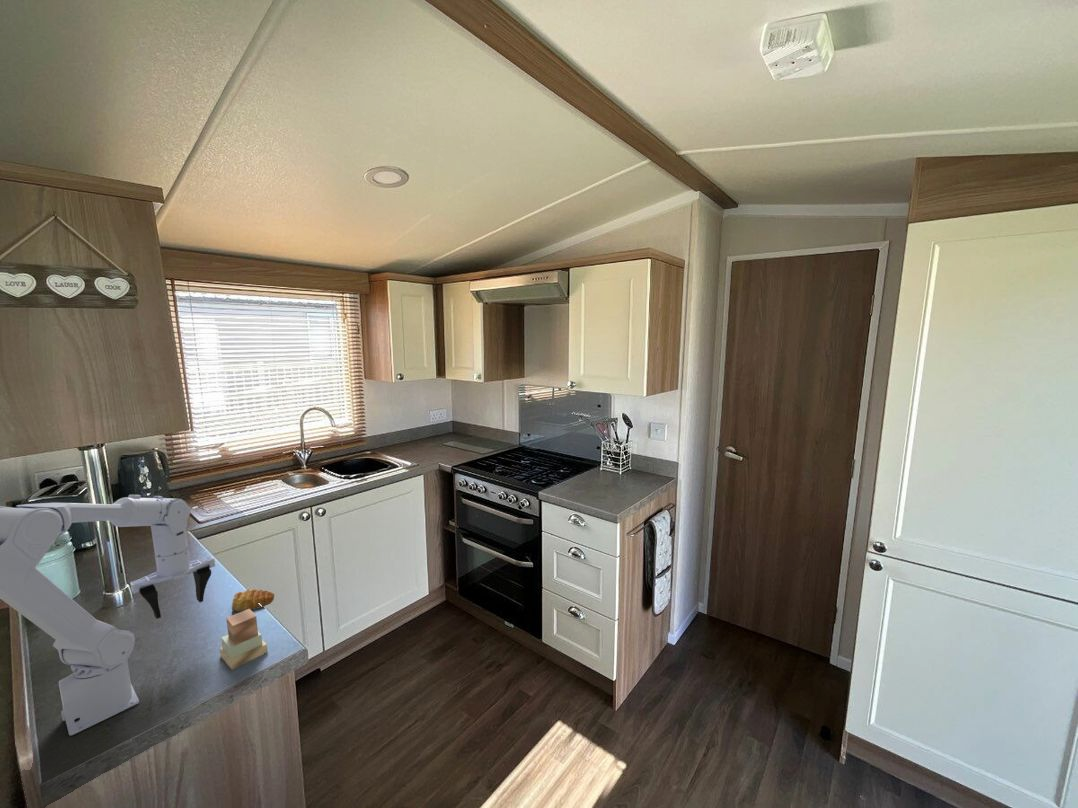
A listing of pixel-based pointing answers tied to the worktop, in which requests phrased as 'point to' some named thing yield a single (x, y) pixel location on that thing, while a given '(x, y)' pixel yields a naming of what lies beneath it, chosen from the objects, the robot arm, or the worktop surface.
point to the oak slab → (243, 656)
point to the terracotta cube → (242, 626)
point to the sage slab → (240, 645)
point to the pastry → (251, 600)
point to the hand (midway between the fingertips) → (179, 608)
